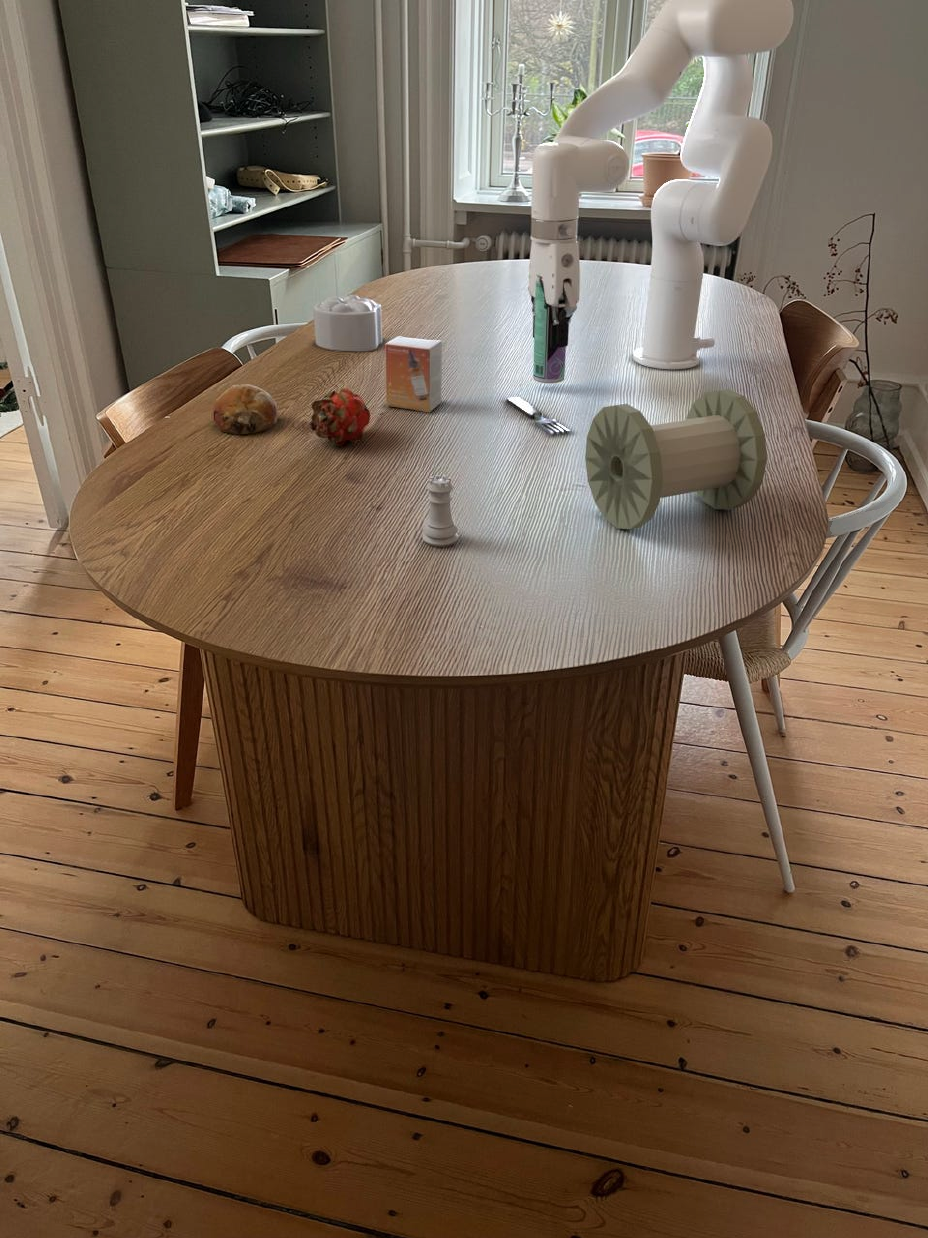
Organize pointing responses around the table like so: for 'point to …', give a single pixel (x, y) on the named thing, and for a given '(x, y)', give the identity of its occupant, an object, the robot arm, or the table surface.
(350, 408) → the dragon fruit
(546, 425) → the fork
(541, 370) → the spray can
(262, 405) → the bread roll
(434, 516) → the rook chess piece
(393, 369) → the small box
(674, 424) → the spool
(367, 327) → the lumpy-topped squat cylinder
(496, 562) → the table surface
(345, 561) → the table surface
